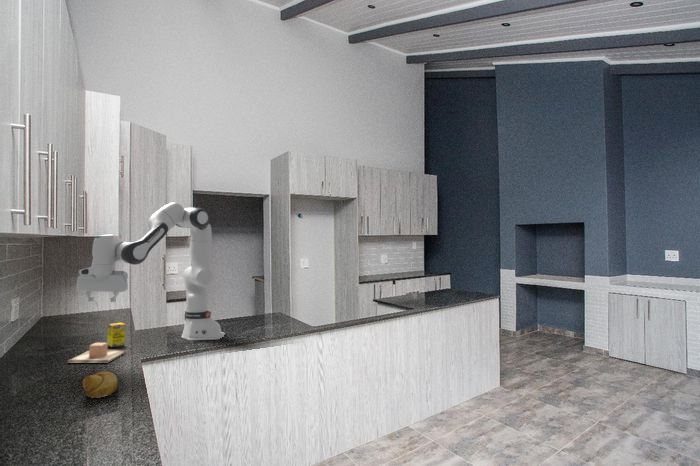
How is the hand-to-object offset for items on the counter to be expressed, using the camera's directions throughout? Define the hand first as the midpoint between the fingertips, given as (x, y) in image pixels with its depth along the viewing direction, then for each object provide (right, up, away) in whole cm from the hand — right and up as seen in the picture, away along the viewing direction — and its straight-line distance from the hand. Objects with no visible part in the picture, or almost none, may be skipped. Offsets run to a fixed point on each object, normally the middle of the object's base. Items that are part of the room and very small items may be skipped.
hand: (101, 301), depth 173 cm
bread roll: (+25, -25, -39) cm, 53 cm away
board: (-1, -25, -1) cm, 25 cm away
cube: (-1, -24, -1) cm, 24 cm away
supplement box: (-5, -26, +19) cm, 32 cm away
